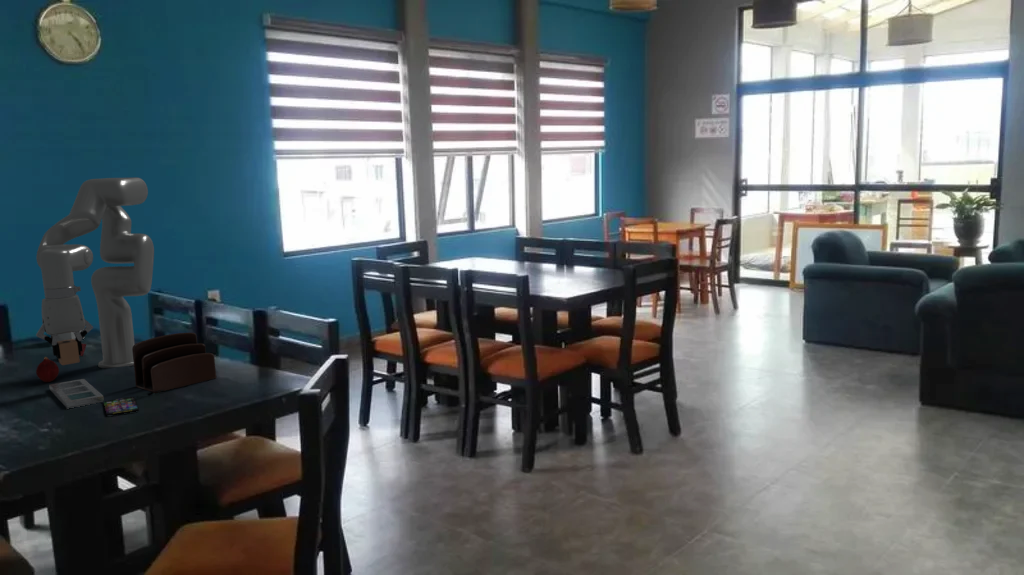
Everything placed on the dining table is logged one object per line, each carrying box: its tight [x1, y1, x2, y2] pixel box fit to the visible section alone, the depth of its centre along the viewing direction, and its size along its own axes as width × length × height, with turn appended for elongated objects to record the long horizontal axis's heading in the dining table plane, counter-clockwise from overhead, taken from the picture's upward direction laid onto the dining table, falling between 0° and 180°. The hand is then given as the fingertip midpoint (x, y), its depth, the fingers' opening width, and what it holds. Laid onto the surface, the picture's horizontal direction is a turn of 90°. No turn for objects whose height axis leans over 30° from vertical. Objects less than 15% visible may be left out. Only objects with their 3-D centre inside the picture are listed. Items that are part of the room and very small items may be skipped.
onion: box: [35, 356, 60, 383], centre depth 244 cm, size 6×6×8 cm
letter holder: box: [132, 332, 217, 394], centre depth 240 cm, size 10×20×14 cm, turn 142°
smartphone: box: [103, 396, 140, 416], centre depth 218 cm, size 8×1×15 cm
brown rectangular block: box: [57, 339, 81, 366], centre depth 234 cm, size 4×4×6 cm
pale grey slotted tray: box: [49, 378, 105, 410], centre depth 229 cm, size 9×24×2 cm, turn 38°
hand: (68, 355), depth 234 cm, fingers closed on brown rectangular block, 4 cm apart
